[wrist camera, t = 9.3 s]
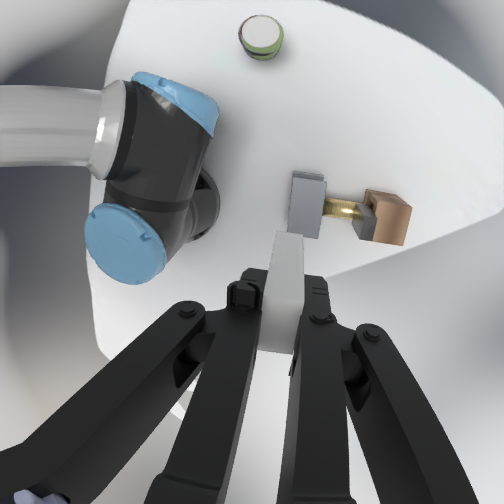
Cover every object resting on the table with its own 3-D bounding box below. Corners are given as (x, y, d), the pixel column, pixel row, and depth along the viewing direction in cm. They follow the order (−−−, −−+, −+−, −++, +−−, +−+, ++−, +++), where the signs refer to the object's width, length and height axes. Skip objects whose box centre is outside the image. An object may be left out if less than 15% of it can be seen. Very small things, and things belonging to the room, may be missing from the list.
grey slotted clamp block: (287, 220, 51) (286, 234, 45) (293, 171, 48) (293, 178, 41) (315, 224, 51) (317, 238, 45) (322, 174, 47) (326, 182, 41)
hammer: (312, 212, 48) (315, 233, 39) (315, 192, 46) (319, 208, 38) (379, 222, 46) (395, 244, 38) (383, 203, 45) (401, 222, 36)
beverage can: (259, 25, 37) (248, -2, 26) (294, 47, 38) (293, 25, 28) (236, 50, 40) (218, 29, 29) (271, 73, 41) (262, 57, 30)
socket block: (359, 223, 50) (369, 240, 42) (366, 189, 47) (377, 200, 40) (389, 228, 49) (402, 246, 42) (396, 195, 46) (412, 207, 39)
